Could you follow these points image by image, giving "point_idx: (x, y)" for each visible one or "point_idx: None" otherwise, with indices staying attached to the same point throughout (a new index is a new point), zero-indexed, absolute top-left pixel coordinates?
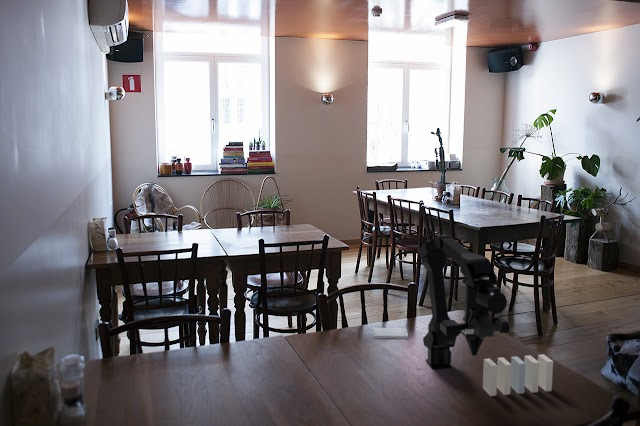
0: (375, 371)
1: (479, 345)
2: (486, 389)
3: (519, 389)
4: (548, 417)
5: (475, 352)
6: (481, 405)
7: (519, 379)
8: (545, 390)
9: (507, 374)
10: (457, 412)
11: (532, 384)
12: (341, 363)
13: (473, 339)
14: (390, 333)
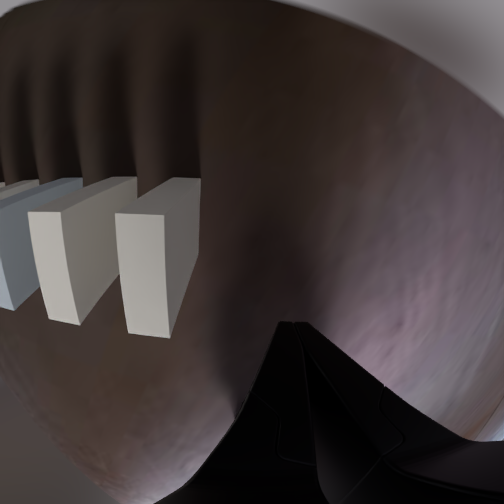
0: (443, 390)
1: (268, 392)
2: (197, 221)
3: (69, 180)
4: (85, 4)
5: (296, 338)
6: (283, 110)
7: (45, 189)
8: (3, 184)
9: (81, 195)
10: (401, 98)
11: (18, 185)
12: (463, 413)
13: (423, 462)
14: None
